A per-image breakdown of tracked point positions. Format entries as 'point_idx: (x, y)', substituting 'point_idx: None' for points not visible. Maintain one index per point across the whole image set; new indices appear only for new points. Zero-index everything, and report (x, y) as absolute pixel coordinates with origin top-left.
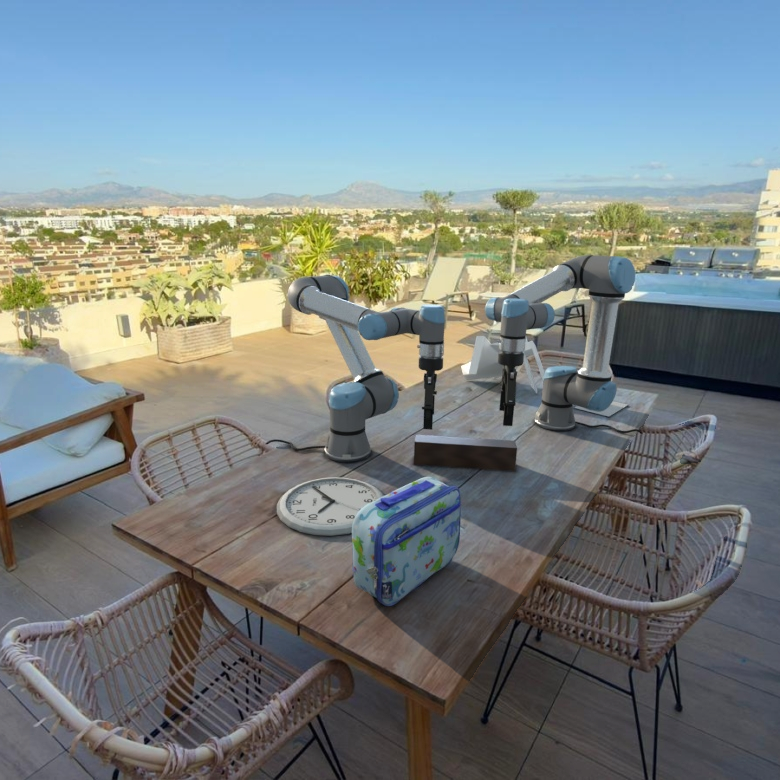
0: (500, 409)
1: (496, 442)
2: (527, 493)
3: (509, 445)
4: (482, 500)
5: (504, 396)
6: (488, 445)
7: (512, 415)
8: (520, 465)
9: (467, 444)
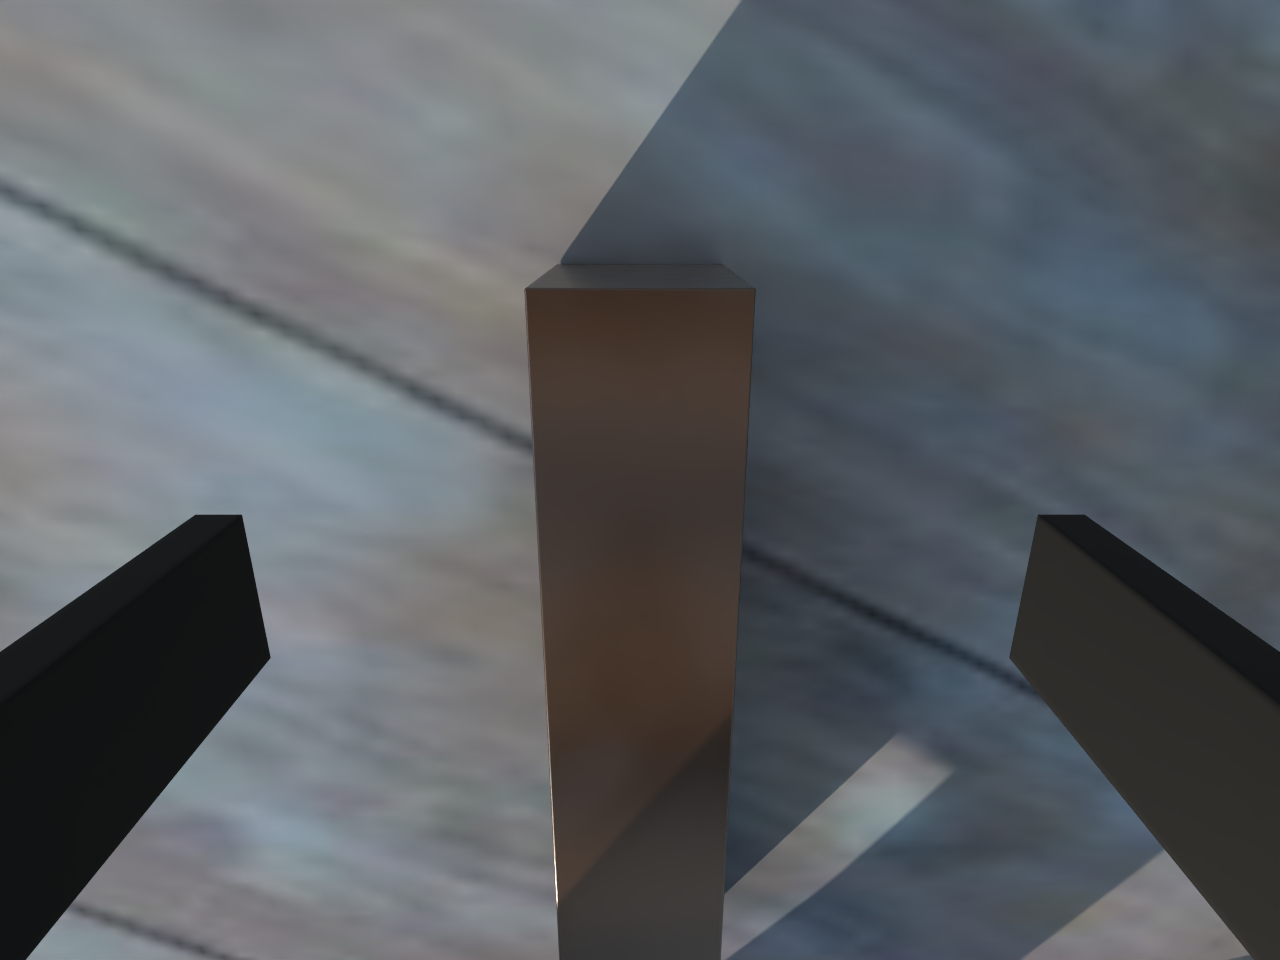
0: (255, 655)
1: (621, 505)
2: (1125, 201)
3: (686, 371)
4: (1201, 543)
5: (44, 820)
6: (717, 588)
7: (1238, 643)
8: (587, 195)
9: (719, 765)
